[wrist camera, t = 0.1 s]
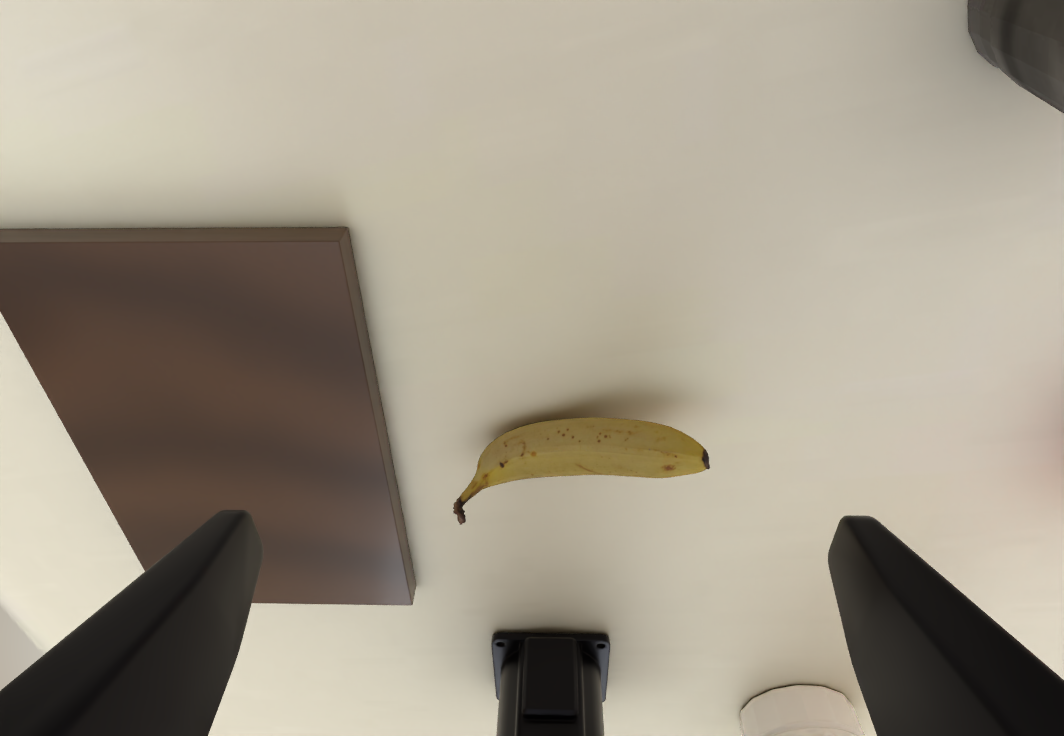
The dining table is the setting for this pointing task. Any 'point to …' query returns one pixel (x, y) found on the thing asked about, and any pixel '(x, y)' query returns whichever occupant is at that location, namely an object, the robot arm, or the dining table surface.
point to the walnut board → (220, 393)
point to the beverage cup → (1023, 43)
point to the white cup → (800, 713)
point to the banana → (585, 453)
